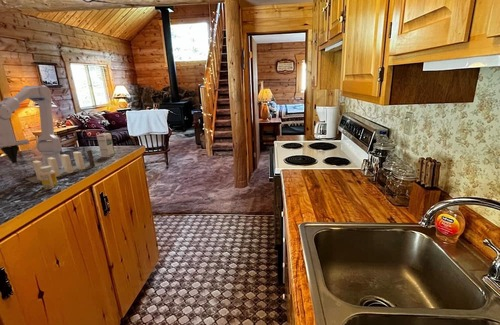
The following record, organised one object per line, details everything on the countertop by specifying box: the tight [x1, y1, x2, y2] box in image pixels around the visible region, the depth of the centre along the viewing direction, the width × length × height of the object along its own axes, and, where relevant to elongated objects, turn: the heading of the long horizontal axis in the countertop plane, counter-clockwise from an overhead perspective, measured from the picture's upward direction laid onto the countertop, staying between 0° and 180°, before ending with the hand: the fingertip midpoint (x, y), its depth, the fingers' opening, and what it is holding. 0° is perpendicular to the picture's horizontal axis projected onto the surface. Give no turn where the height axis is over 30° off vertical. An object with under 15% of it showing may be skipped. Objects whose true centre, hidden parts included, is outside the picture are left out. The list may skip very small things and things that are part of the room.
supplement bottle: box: [40, 165, 59, 190], centre depth 118 cm, size 5×5×10 cm
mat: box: [25, 161, 105, 184], centre depth 140 cm, size 12×33×1 cm, turn 147°
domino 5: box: [85, 148, 96, 168], centre depth 146 cm, size 2×5×9 cm, turn 35°
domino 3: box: [60, 153, 74, 174], centre depth 137 cm, size 2×5×9 cm, turn 57°
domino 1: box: [31, 159, 44, 180], centre depth 127 cm, size 2×5×9 cm, turn 57°
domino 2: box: [47, 157, 62, 178], centre depth 132 cm, size 2×5×9 cm, turn 57°
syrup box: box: [96, 132, 116, 158], centre depth 165 cm, size 6×6×14 cm
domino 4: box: [72, 151, 86, 171], centre depth 141 cm, size 2×5×9 cm, turn 57°
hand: (14, 162), depth 122 cm, fingers closed
